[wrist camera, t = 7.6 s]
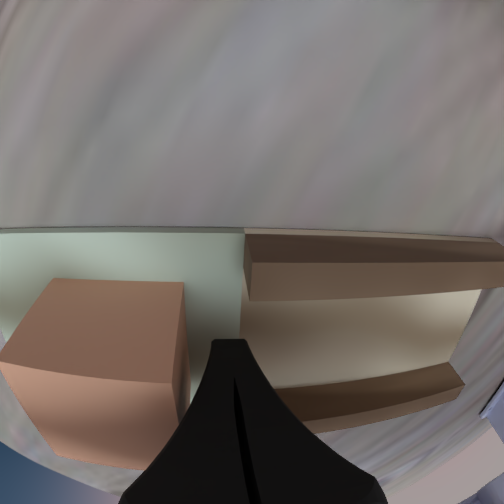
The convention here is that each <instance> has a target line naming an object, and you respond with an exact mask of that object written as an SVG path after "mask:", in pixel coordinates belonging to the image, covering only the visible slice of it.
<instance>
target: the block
mask: <svg viewBox="0 0 504 504" xmlns="http://www.w3.org/2000/svg"><path fill="white" fill-rule="evenodd" d="M0 370H1V372H2V373H3V375H4V377H5V379H6V381H7V382H8V384H9V386H10V388H11V389H12V391H13V393H14V394H15V396H16V398H17V399H18V401H19V403H20V404H21V406H22V407H23V409H24V410H25V412H26V413H27V415H28V416H29V418H30V419H31V421H32V422H33V424H34V425H35V427H36V428H37V429H38V431H39V432H40V434H41V435H42V436H43V438H44V439H45V440H46V442H47V443H48V444H49V446H50V447H51V448H52V450H53V451H54V452H55V453H56V455H57V456H61V457H65V458H70V459H74V460H79V461H84V462H89V463H94V464H100V465H106V466H112V467H119V468H126V469H135V470H144V471H145V470H146V469H147V468H148V466H149V465H150V464H151V463H152V461H153V460H154V459H155V458H156V456H157V455H158V454H159V453H160V452H161V450H162V449H163V448H164V446H165V445H166V443H167V442H168V441H169V439H170V438H171V436H172V435H173V433H174V432H175V430H176V429H177V427H178V425H179V424H180V422H181V420H182V419H183V417H184V415H185V413H186V412H187V410H188V408H189V406H190V392H191V378H190V367H189V356H188V343H187V329H186V314H185V296H184V282H158V281H119V280H89V279H65V278H53V279H52V280H51V281H50V283H49V284H48V285H47V286H46V288H45V289H44V290H43V292H42V293H41V294H40V296H39V297H38V298H37V300H36V301H35V302H34V304H33V305H32V307H31V308H30V309H29V311H28V312H27V313H26V315H25V316H24V318H23V319H22V321H21V322H20V323H19V325H18V326H17V328H16V329H15V331H14V332H13V334H12V335H11V337H10V338H9V340H8V341H7V343H6V344H5V346H4V348H3V349H2V351H1V352H0Z"/></svg>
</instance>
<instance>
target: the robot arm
mask: <svg viewBox="0 0 504 504" xmlns="http://www.w3.org/2000/svg"><path fill="white" fill-rule="evenodd" d="M485 417H487V419H488V420H489V422H490V423H491V425H492V426H493V428H494V429H495V431H496V432H497V434H498V435H499V437H500V438H501V440H502V442H503V443H504V382H503V384H502V385H501V387H500V388H499V389H498V391H497V392H496V394H495V395H494V397H493V398H492V399H491V401H490V402H489V403H488V405H487V406H486V408H485V409H484V410H483V411H482V413H481V414H480V418H481V419H483V418H485ZM118 504H388V502H387V499H386V497H385V494H384V492H383V490H382V488H381V487H380V485H379V483H378V482H377V480H376V478H375V477H374V476H372V475H370V474H368V473H367V472H365V471H363V470H361V469H360V468H358V467H357V466H355V465H353V464H352V463H350V462H349V461H347V460H346V459H345V458H343V457H342V456H340V455H339V454H337V453H336V452H335V451H333V450H332V449H331V448H330V447H329V446H327V445H326V444H325V443H324V442H323V441H321V440H320V439H319V438H318V437H317V436H315V435H314V434H313V433H312V432H311V431H310V430H309V429H308V428H307V427H306V426H305V425H304V424H303V423H302V422H301V421H300V420H299V419H298V418H297V417H296V416H295V415H294V414H293V412H292V411H291V410H290V409H289V408H288V407H287V405H286V404H285V403H284V402H283V400H282V399H281V398H280V397H279V395H278V394H277V393H276V391H275V390H274V388H273V387H272V386H271V384H270V383H269V381H268V379H267V378H266V376H265V375H264V373H263V372H262V370H261V368H260V367H259V365H258V363H257V361H256V360H255V358H254V356H253V354H252V352H251V350H250V347H249V345H248V342H247V341H246V340H245V339H214V340H213V341H211V349H210V355H209V358H208V362H207V365H206V368H205V371H204V374H203V376H202V379H201V382H200V384H199V387H198V389H197V391H196V393H195V395H194V397H193V400H192V402H191V404H190V406H189V408H188V410H187V412H186V413H185V415H184V417H183V419H182V420H181V422H180V424H179V425H178V427H177V429H176V430H175V432H174V433H173V435H172V436H171V438H170V439H169V441H168V442H167V443H166V445H165V446H164V448H163V449H162V450H161V452H160V453H159V454H158V455H157V456H156V458H155V459H154V460H153V461H152V463H151V464H150V465H149V466H148V468H147V469H146V470H145V471H144V472H143V473H142V474H141V475H140V476H139V477H138V478H137V479H136V480H135V481H134V482H133V483H132V484H131V485H130V486H129V487H128V488H127V489H126V490H125V491H124V493H123V494H122V496H121V499H120V501H119V503H118ZM458 504H504V473H502V474H501V475H500V476H498V477H496V478H495V479H493V480H492V481H491V482H489V483H488V484H486V485H485V486H484V487H482V488H481V489H480V490H479V491H478V492H477V493H476V494H474V495H472V496H471V497H469V498H467V499H465V500H464V501H462V502H460V503H458Z"/></svg>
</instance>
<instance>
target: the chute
mask: <svg viewBox="0 0 504 504" xmlns="http://www.w3.org/2000/svg"><path fill="white" fill-rule="evenodd" d="M53 278H65V279H89V280H119V281H158V282H184V296H185V314H186V329H187V343H188V356H189V367H190V378H191V392H190V404H191V402H192V400H193V397H194V395H195V393H196V391H197V389H198V387H199V384H200V382H201V379H202V376H203V374H204V371H205V368H206V365H207V362H208V358H209V355H210V349H211V341H213V340H214V339H245V340H246V341H247V342H248V345H249V347H250V350H251V352H252V354H253V356H254V358H255V360H256V361H257V363H258V365H259V367H260V368H261V370H262V372H263V373H264V375H265V376H266V378H267V379H268V381H269V383H270V384H271V386H272V387H273V388H274V390H275V391H276V393H277V394H278V395H279V397H280V398H281V399H282V400H283V402H284V403H285V404H286V405H287V407H288V408H289V409H290V410H291V411H292V412H293V414H294V415H295V416H296V417H297V418H298V419H299V420H300V421H301V422H302V423H303V424H304V425H305V426H306V427H307V428H308V429H309V430H310V431H311V432H312V433H313V434H316V433H323V432H329V431H335V430H341V429H346V428H351V427H357V426H361V425H366V424H371V423H375V422H380V421H384V420H388V419H392V418H396V417H400V416H403V415H407V414H411V413H414V412H418V411H421V410H424V409H428V408H431V407H434V406H437V405H440V404H443V403H446V402H449V401H452V400H455V399H456V398H457V396H458V395H459V393H460V392H461V390H462V389H463V387H464V386H465V384H464V382H463V381H462V380H461V378H460V377H459V376H458V374H457V373H456V371H455V370H454V369H453V367H452V366H451V365H450V364H449V362H448V361H449V359H450V357H451V355H452V353H453V352H454V350H455V348H456V346H457V344H458V342H459V340H460V338H461V336H462V333H463V331H464V329H465V327H466V325H467V323H468V321H469V318H470V316H471V314H472V312H473V309H474V307H475V304H476V302H477V300H478V297H479V295H480V292H481V290H482V289H488V288H497V287H504V246H502V245H501V244H499V243H497V242H496V241H494V240H493V239H490V238H475V237H459V236H443V235H425V234H405V233H384V232H360V231H334V230H304V229H267V228H214V227H62V228H14V229H0V329H1V331H2V334H3V336H4V338H5V341H6V343H7V341H8V340H9V338H10V337H11V335H12V334H13V332H14V331H15V329H16V328H17V326H18V325H19V323H20V322H21V321H22V319H23V318H24V316H25V315H26V313H27V312H28V311H29V309H30V308H31V307H32V305H33V304H34V302H35V301H36V300H37V298H38V297H39V296H40V294H41V293H42V292H43V290H44V289H45V288H46V286H47V285H48V284H49V283H50V281H51V280H52V279H53Z"/></svg>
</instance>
